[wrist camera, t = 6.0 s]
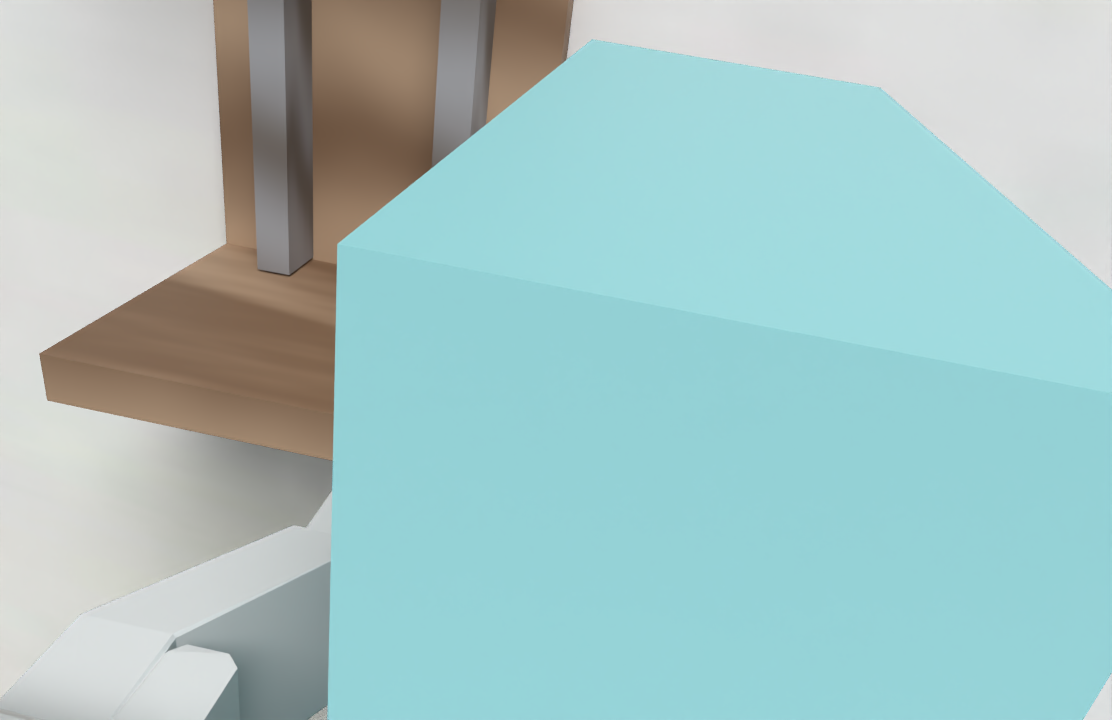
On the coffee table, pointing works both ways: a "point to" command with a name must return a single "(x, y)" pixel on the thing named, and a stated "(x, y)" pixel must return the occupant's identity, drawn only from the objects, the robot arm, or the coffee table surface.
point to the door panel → (715, 419)
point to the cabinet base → (302, 203)
